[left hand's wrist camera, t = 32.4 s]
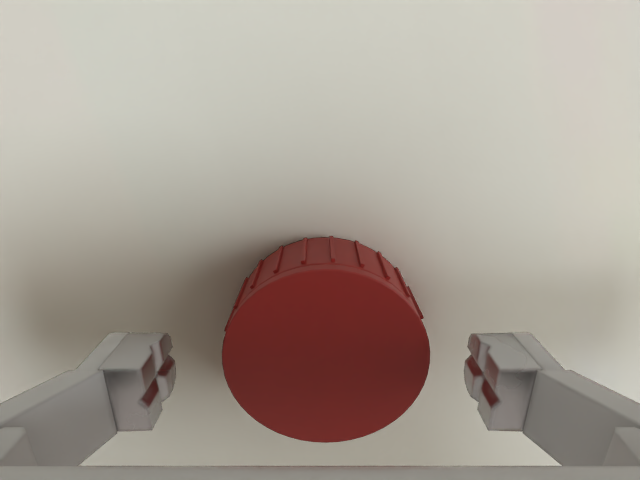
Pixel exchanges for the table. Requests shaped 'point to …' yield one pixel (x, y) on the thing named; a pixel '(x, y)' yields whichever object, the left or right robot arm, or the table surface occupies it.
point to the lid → (325, 342)
